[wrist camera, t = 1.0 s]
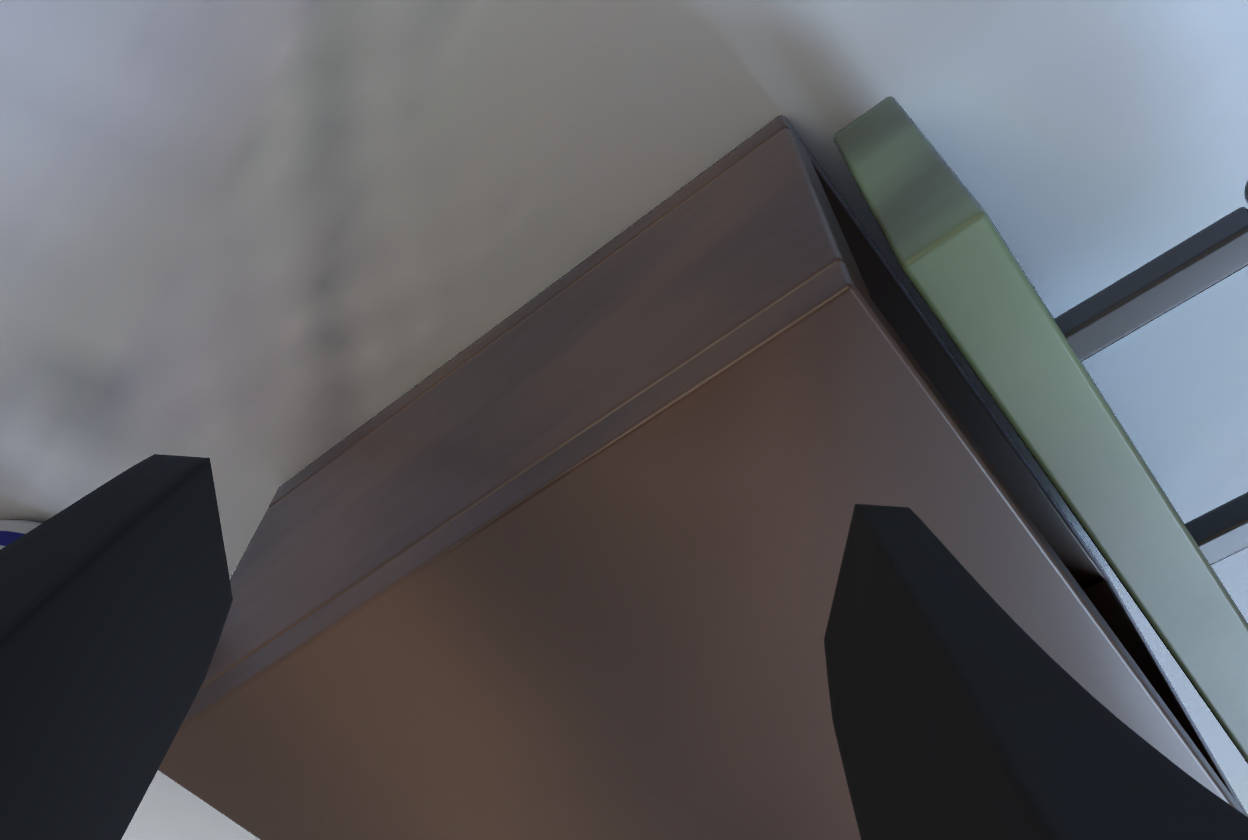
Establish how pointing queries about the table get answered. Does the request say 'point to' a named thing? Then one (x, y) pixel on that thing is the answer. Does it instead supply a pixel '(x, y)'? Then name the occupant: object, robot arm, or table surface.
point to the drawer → (1072, 389)
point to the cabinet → (635, 552)
